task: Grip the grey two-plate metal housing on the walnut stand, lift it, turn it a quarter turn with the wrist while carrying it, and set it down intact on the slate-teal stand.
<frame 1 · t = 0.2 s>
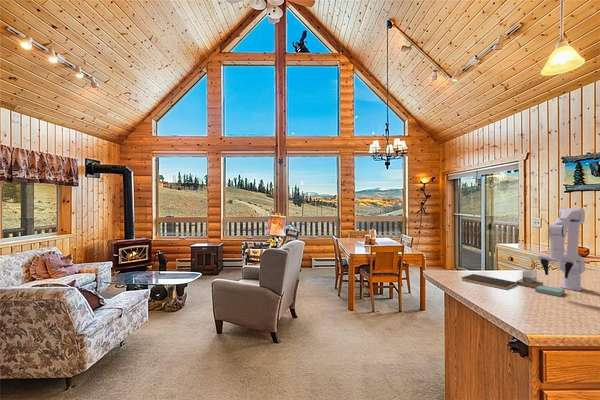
hand: (556, 276, 158), 10 cm above the countertop, fingers open, 7 cm apart
hardcover book: (488, 283, 183), on the countertop
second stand: (549, 292, 165), on the countertop
housing: (529, 281, 179), point 2 cm above the countertop, touching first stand
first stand: (529, 285, 179), on the countertop
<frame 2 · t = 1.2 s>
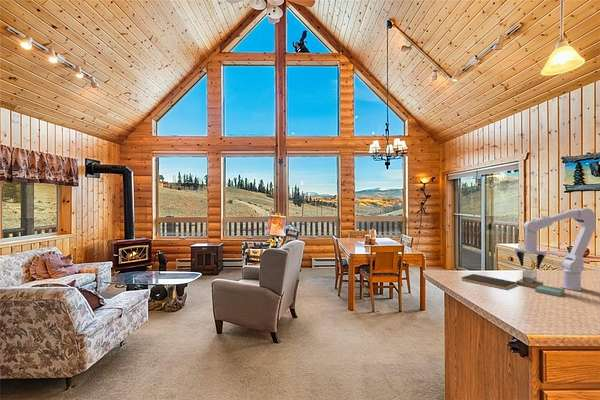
hand: (530, 266, 179), 10 cm above the countertop, fingers open, 7 cm apart
nothing on the countertop moved.
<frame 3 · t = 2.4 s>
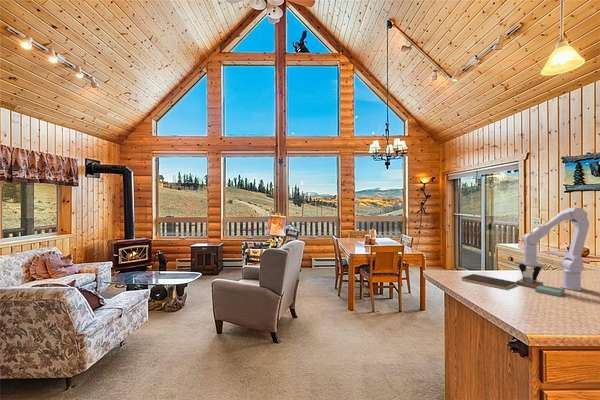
hand: (529, 279, 179), 3 cm above the countertop, fingers closed on housing, 4 cm apart
housing: (529, 281, 179), point 2 cm above the countertop, touching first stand, gripper
everything else where it was.
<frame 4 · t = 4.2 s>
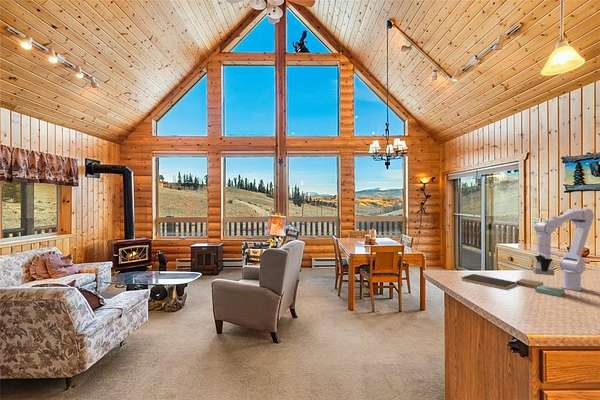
hand: (543, 270, 170), 10 cm above the countertop, fingers closed on housing, 4 cm apart
housing: (543, 273, 170), point 9 cm above the countertop, touching gripper
everything else where it was.
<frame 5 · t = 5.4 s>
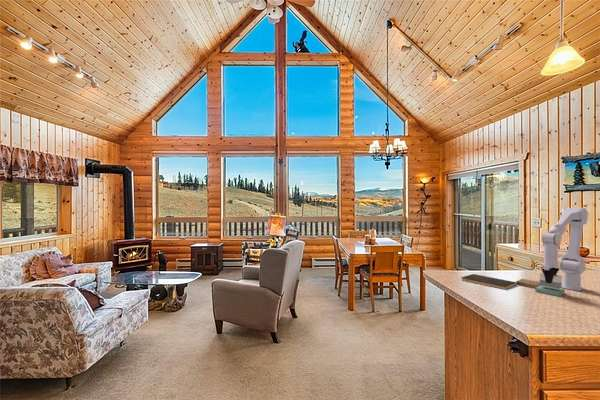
hand: (550, 282, 165), 5 cm above the countertop, fingers closed on housing, 4 cm apart
housing: (550, 286, 165), point 3 cm above the countertop, touching gripper
everything else where it was.
when the fingers open (4 cm above the countertop, at t = 6.1 s): housing stays where it is, resting on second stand.
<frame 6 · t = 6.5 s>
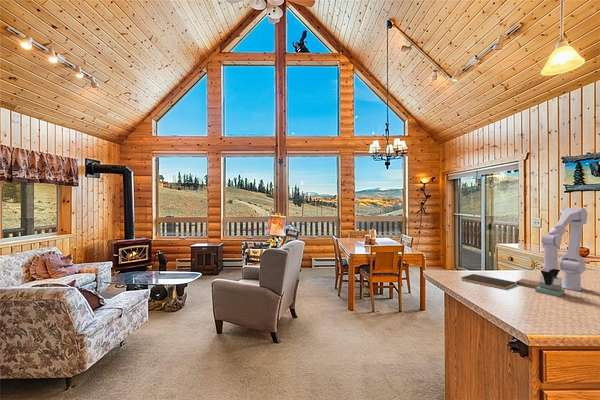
hand: (550, 283, 165), 4 cm above the countertop, fingers open, 7 cm apart
housing: (550, 288, 165), point 2 cm above the countertop, touching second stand
everything else where it was.
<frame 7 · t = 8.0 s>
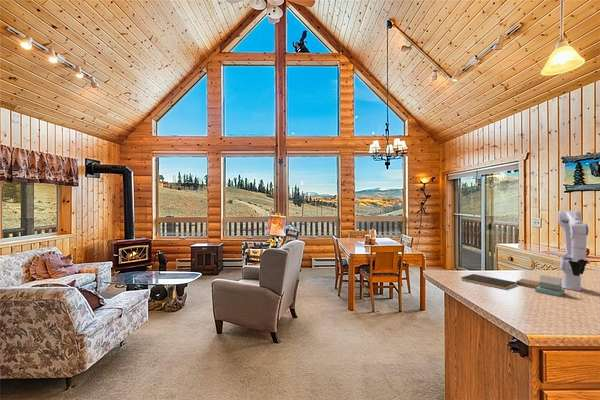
hand: (578, 274, 161), 10 cm above the countertop, fingers open, 7 cm apart
nothing on the countertop moved.
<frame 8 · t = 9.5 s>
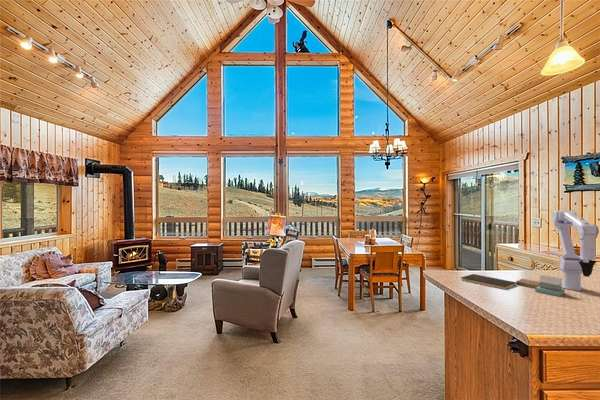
hand: (587, 275, 160), 10 cm above the countertop, fingers open, 7 cm apart
nothing on the countertop moved.
at the end: housing 0.2 cm off-centre on the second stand, point 2.0 cm above the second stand's base; housing tilted 0°; the gripper is holding nothing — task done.
